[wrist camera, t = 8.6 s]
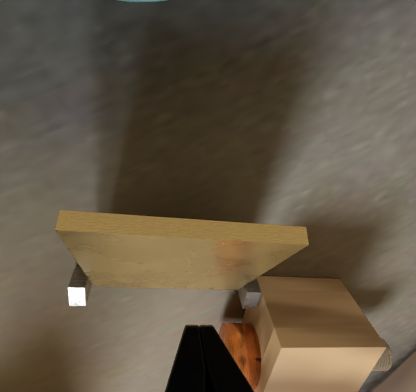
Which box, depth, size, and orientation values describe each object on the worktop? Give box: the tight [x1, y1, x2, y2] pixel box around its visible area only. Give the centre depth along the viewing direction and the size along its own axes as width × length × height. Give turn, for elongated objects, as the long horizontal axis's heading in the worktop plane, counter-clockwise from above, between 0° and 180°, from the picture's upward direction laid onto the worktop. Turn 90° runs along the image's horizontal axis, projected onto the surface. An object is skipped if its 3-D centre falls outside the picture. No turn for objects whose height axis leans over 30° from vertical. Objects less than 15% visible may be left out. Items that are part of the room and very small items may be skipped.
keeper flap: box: [55, 210, 309, 290], centre depth 17 cm, size 11×10×1 cm
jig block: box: [242, 276, 386, 392], centre depth 24 cm, size 10×7×6 cm
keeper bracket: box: [68, 266, 261, 309], centre depth 22 cm, size 2×13×2 cm, turn 81°
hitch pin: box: [219, 323, 392, 390], centre depth 24 cm, size 4×13×4 cm, turn 81°
